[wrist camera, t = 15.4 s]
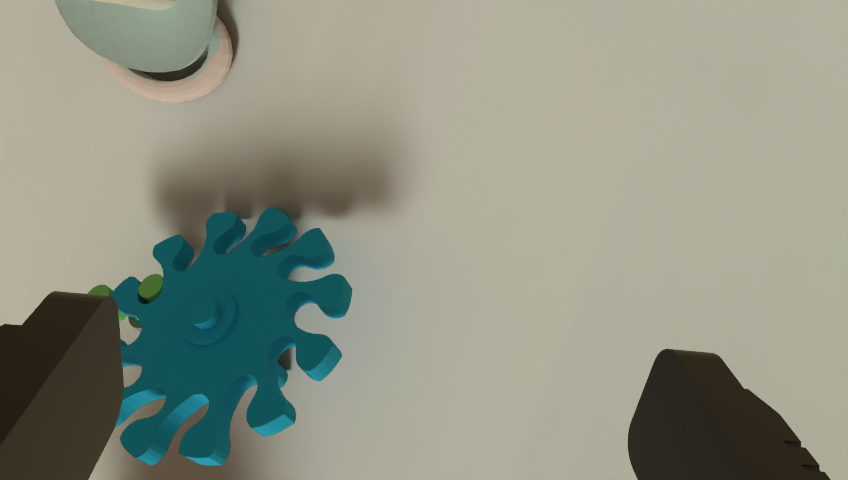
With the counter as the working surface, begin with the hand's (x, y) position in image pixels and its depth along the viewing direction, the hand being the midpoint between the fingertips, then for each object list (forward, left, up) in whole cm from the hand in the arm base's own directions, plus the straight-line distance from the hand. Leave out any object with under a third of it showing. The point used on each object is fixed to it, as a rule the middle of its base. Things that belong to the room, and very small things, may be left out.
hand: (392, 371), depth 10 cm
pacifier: (-17, +1, -14) cm, 22 cm away
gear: (-9, -8, -14) cm, 19 cm away
